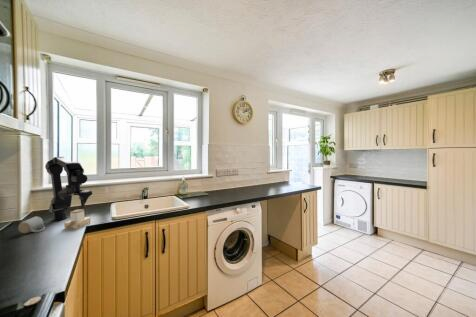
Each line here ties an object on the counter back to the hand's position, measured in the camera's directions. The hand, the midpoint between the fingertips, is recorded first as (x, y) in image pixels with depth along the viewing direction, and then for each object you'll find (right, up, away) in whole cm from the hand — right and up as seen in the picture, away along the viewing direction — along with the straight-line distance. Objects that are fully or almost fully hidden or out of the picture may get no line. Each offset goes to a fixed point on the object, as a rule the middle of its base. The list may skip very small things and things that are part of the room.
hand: (76, 207), depth 122 cm
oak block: (+1, -12, 0) cm, 12 cm away
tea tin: (+1, -8, 0) cm, 8 cm away
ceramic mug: (-20, -13, -6) cm, 25 cm away
